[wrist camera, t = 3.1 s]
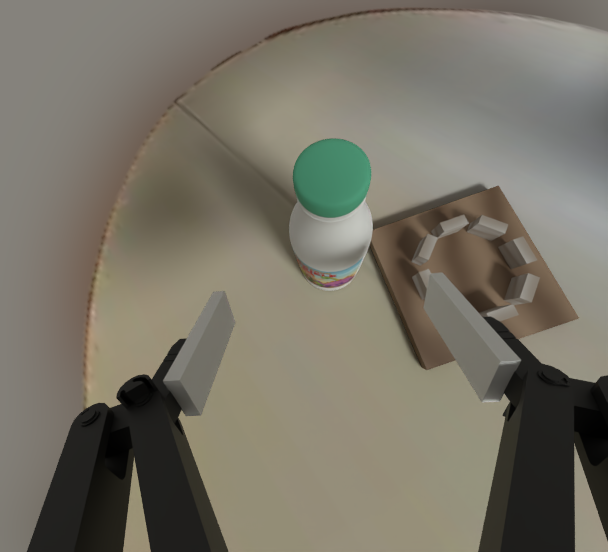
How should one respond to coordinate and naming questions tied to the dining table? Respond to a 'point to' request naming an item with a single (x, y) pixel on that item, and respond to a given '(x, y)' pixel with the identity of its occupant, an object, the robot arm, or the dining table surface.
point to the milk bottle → (331, 212)
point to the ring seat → (468, 270)
